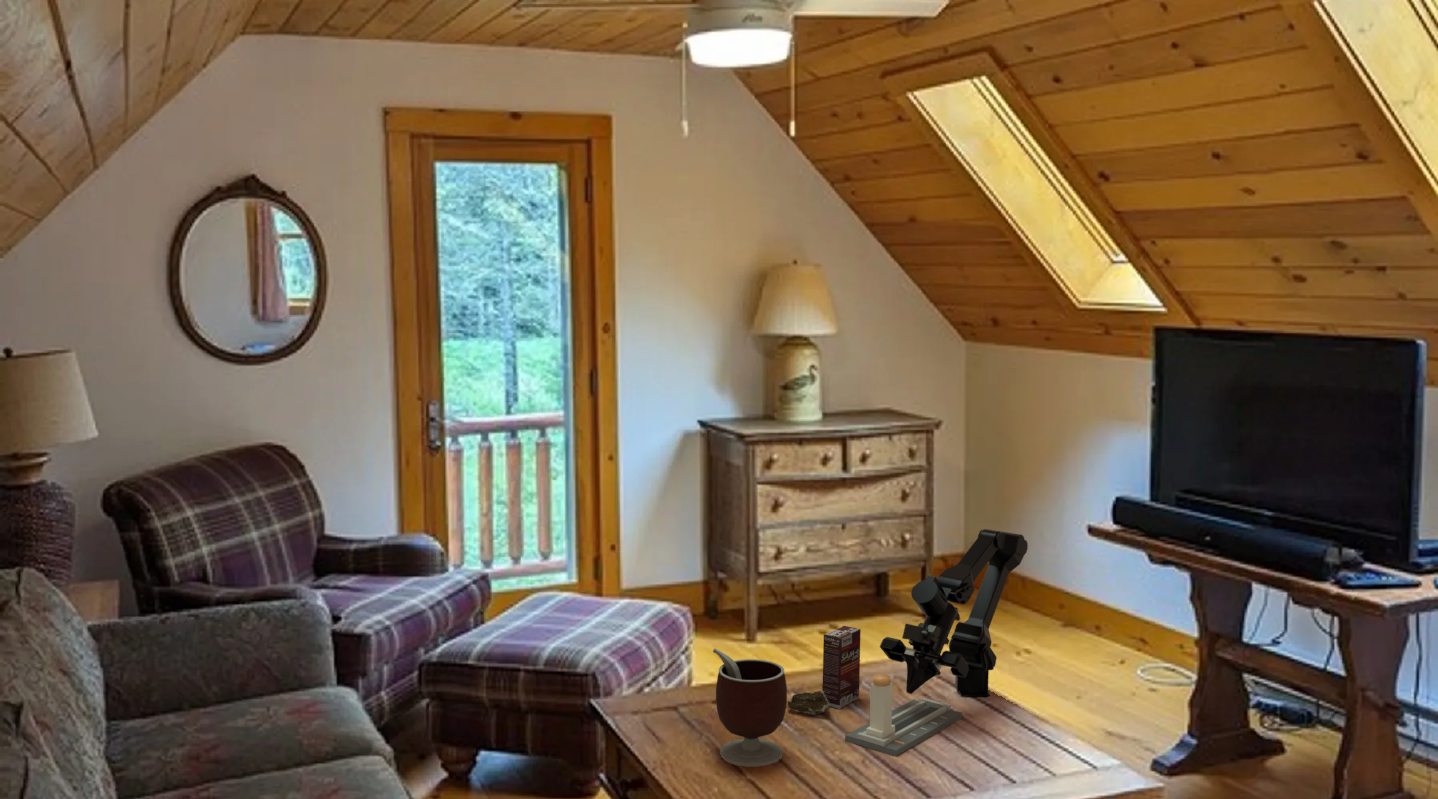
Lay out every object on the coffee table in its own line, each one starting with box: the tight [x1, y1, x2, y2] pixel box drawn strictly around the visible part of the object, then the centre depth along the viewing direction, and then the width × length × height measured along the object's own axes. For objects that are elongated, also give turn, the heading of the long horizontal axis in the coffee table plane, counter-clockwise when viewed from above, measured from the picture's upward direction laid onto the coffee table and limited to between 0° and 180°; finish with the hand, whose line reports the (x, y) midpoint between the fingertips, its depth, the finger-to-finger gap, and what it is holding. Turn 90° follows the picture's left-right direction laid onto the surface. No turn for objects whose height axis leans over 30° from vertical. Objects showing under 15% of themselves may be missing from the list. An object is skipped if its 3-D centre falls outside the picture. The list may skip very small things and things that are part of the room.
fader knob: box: [866, 673, 895, 739], centre depth 249 cm, size 5×4×12 cm
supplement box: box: [821, 625, 861, 710], centre depth 272 cm, size 9×5×16 cm, turn 143°
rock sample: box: [786, 690, 831, 716], centre depth 267 cm, size 10×8×9 cm
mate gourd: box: [712, 648, 788, 768], centre depth 244 cm, size 16×14×20 cm
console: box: [844, 698, 963, 757], centre depth 257 cm, size 26×12×2 cm, turn 140°
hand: (908, 692), depth 257 cm, fingers closed
